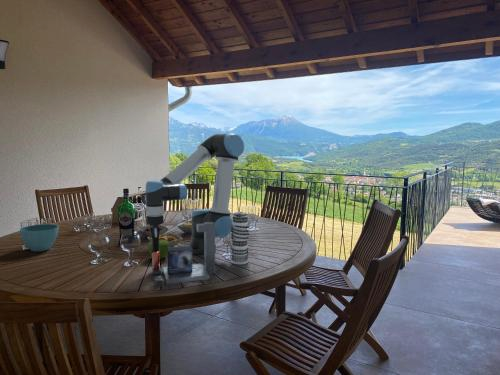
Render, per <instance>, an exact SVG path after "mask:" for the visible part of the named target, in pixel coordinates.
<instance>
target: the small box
mask: <svg viewBox="0 0 500 375" xmlns="http://www.w3.org/2000/svg"><path fill="white" fill-rule="evenodd" d="M192 252H193V250H192V247H191V246H189V245H187V246H186V245H185V246H184V245H183V246H170V247H168V253H167V267H168V268H167V270H168V274H178V273H192V264H193V253H192Z"/></svg>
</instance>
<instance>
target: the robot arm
mask: <svg viewBox="0 0 500 375" xmlns="http://www.w3.org/2000/svg"><path fill="white" fill-rule="evenodd" d="M244 152H245V143H244V140H243V139H242V137H241V136H240V135H239V134H238V133H230V132H229V133H216V134H213V135H212V136H210V137H208V138H206V139H205V140H204V141H202V142H201V143H200V144H199V145H198V146H197V149H196V150H195V151H193V152H192V153H191V154H190V155H188V157H187V158H185V159H184V160H183V161H182V162H180V163H179V164H178V165H177V166H176V167H174V168H173V169H172V170H171V171H170V172H169V173H167V174H166V175H164V177H163V178H161V179H160V180H147V181H146V183H145V207H144V211H145V214H146V216H145V221H146V222H145V223H146V224H147V225H148V226H150V228H149V231H150V237H151V241H152V251H151V253H152V256H151V258H152V261H151V262H152V263H151V265H152V267H153V252H154V251H160V250H159V240H160V239H159V238H160V232H161V230H160V229H161V228H160V227H159V225H162V224H164V202H167V201H170V202H171V201H182V200H185V199H186V198H187V197H188V194H189V193H188V188H187V185H186V184H184V183H182V182H183V181H184V180H186V179H187V178H188V177H189V176H190V175H191V174H193V173H194V171H196V170H197V169H198V168H199V167H201V166H202V165H203V164H204V163H205V162H206V161H210V160H212V159H213V158H215V159H216V160H217V168H216V175H215V182H214V189H213V197H212V202H211V203H212V204H211V207H210V208H203V209H202V208H201V209H194V210H193V211H192V212H191V238H190V241H189V245H188V246H191V247H192V250H193V252H192V255H193V254H194V255H204V232H197V224H204V222H214V223H215V239H217V238H219V239H224V238H227V237H228V236H229V235H231V233H232V232H231V226H232V221H233V218H231V213H232V212H231V211H230V209H229V208H230V198H231V192H232V185H233V177H234V171H235V164H236V163H237V162H238V161H239V157H240V156H241V155H242V154H243V153H244ZM216 251H217V244H216V243H215V252H216Z"/></svg>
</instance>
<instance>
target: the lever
mask: <svg viewBox="0 0 500 375" xmlns="http://www.w3.org/2000/svg"><path fill="white" fill-rule="evenodd" d="M160 264H161V259H160V251H154V252H153V268H151V272H152V276H153V275H154V274H162V269H161V265H160Z"/></svg>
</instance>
